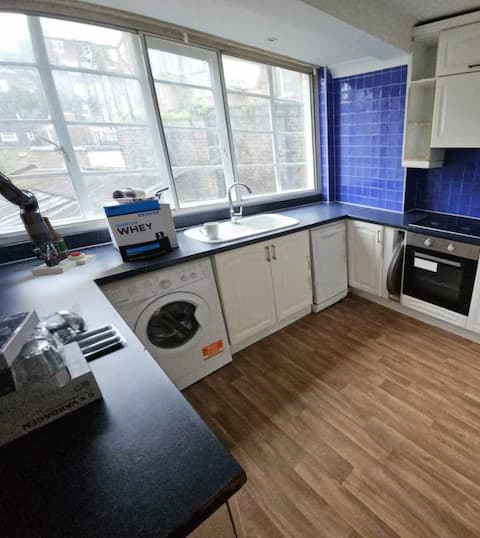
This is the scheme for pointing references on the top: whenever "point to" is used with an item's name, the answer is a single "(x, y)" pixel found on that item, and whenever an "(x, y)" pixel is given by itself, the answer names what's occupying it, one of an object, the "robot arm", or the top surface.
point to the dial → (54, 260)
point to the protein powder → (139, 230)
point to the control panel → (54, 268)
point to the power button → (75, 254)
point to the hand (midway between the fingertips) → (54, 264)
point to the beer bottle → (58, 238)
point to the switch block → (81, 258)
